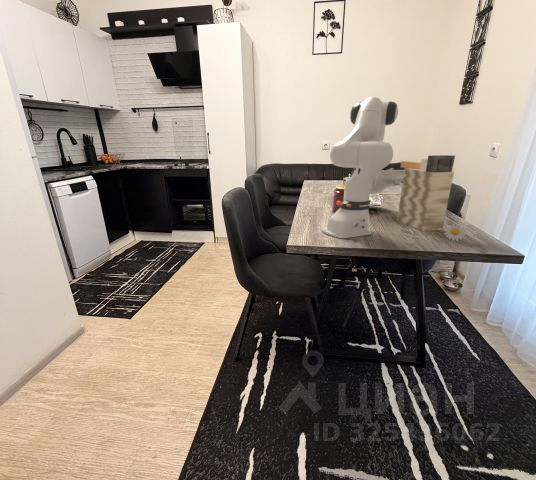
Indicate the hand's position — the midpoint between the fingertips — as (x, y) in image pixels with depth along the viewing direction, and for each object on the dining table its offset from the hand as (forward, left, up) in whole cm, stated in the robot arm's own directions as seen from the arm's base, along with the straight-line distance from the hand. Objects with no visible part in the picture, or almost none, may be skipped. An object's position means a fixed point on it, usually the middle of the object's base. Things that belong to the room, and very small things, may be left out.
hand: (400, 169), depth 146 cm
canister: (-16, +22, -25) cm, 37 cm away
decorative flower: (-13, -34, -25) cm, 44 cm away
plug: (-5, -13, +1) cm, 14 cm away
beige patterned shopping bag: (-6, -18, -25) cm, 31 cm away
